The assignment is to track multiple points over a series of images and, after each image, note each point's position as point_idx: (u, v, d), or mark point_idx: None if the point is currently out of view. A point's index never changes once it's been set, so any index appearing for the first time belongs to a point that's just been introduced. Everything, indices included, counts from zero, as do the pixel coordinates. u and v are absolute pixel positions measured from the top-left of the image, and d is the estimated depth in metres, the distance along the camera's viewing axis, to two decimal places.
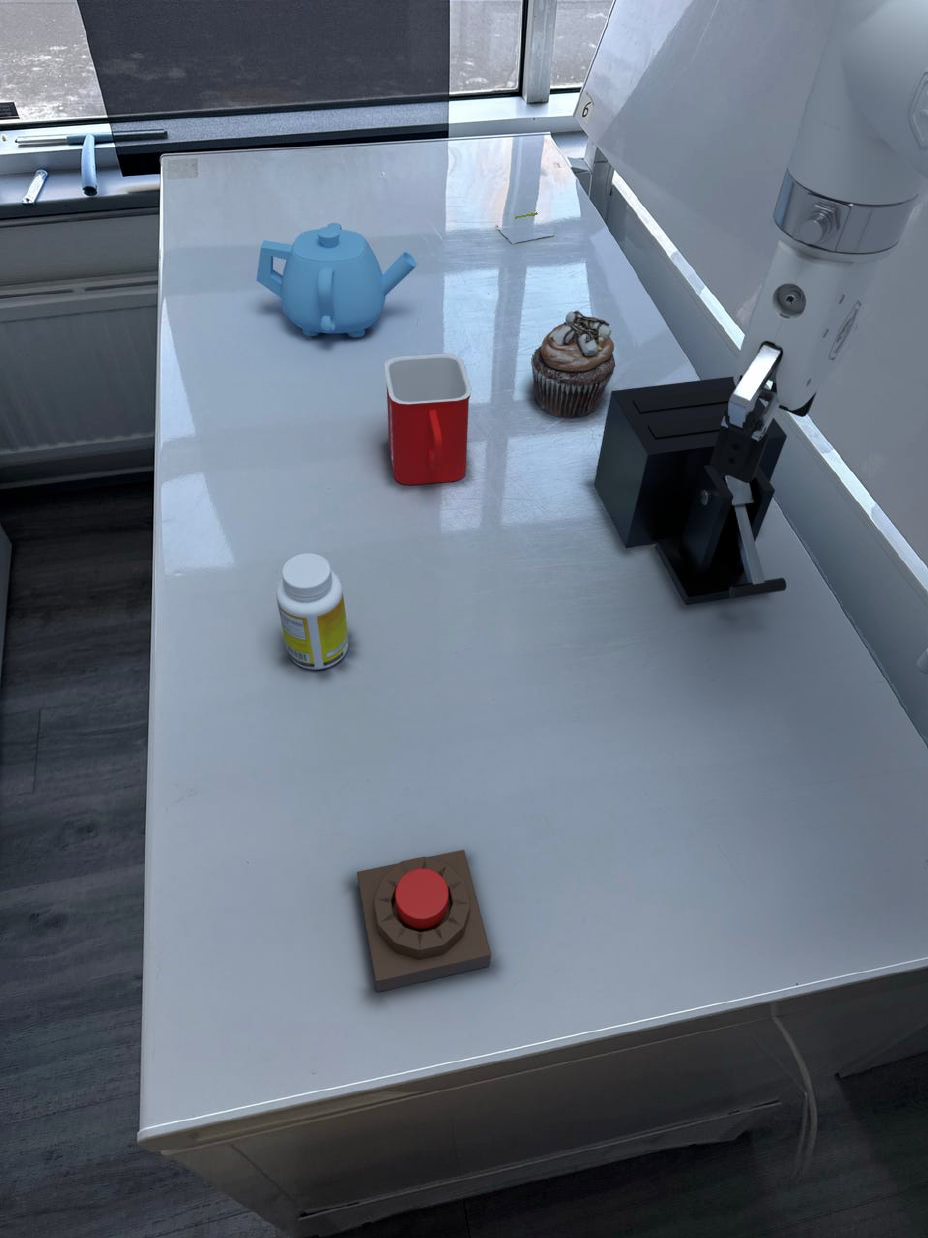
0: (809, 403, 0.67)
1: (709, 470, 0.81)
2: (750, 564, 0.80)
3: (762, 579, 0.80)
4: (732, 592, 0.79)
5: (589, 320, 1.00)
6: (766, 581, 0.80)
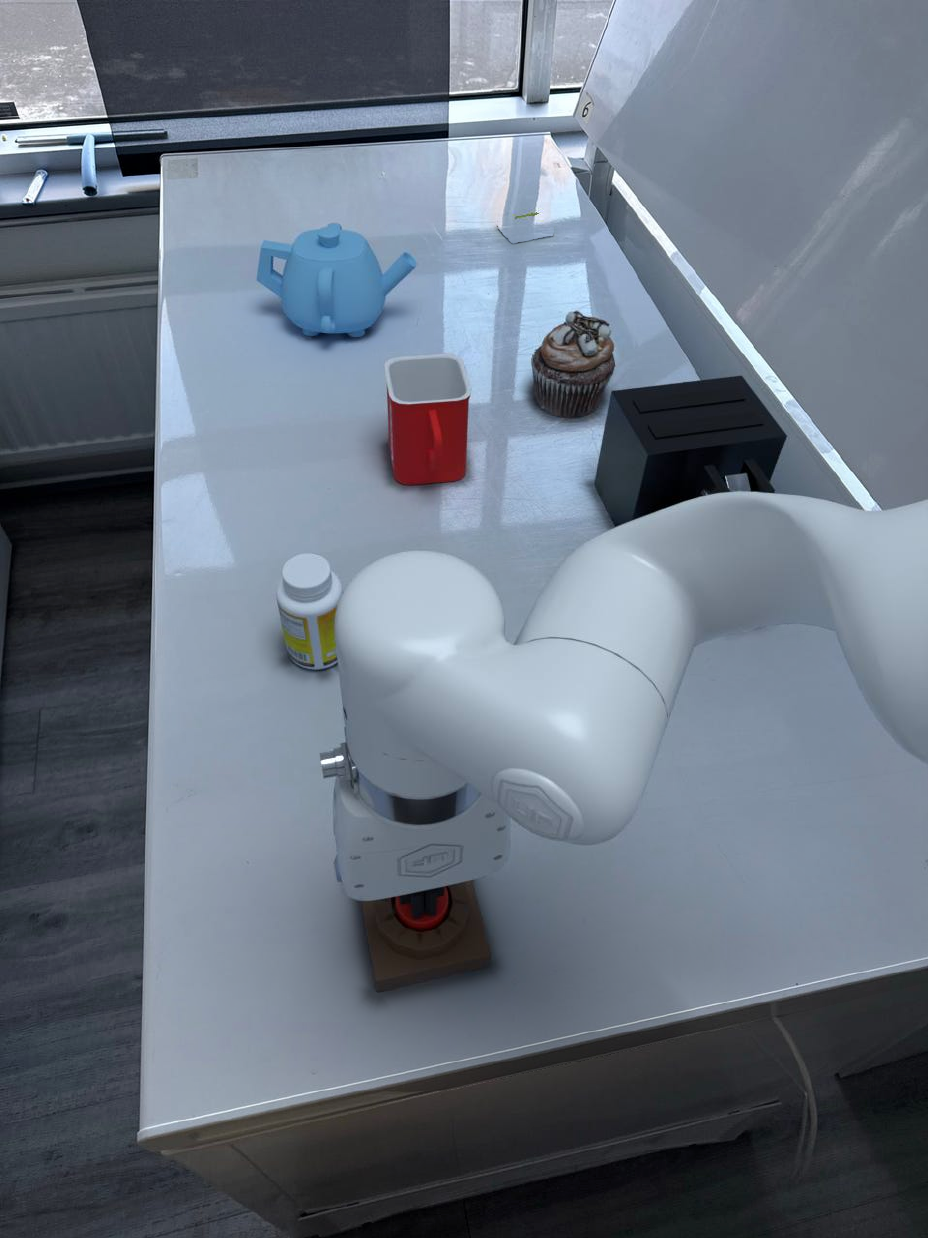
0: (428, 909, 0.59)
1: (709, 470, 0.81)
2: None
3: None
4: None
5: (589, 320, 1.00)
6: None
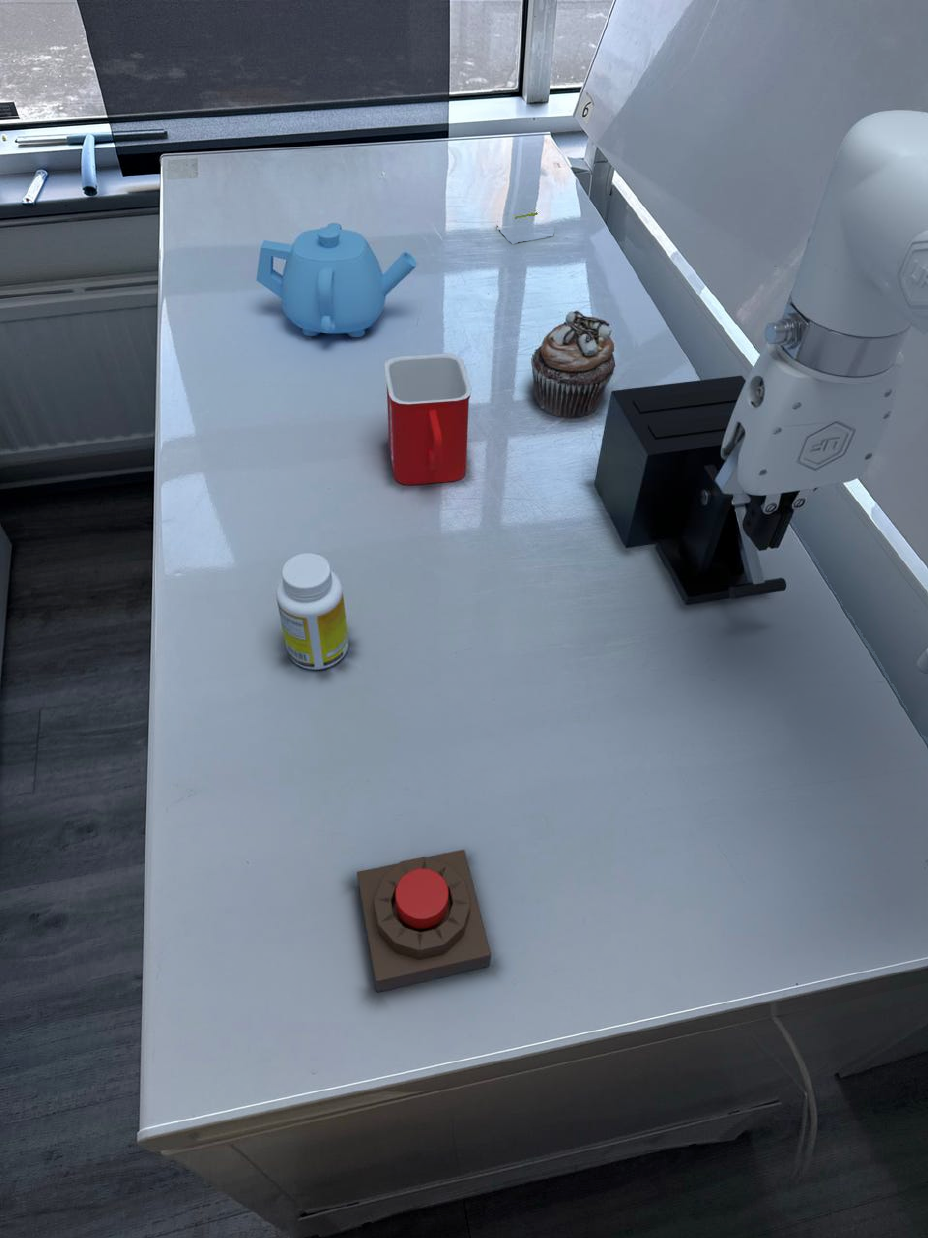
0: (776, 537, 0.69)
1: (709, 470, 0.81)
2: (750, 564, 0.80)
3: (762, 579, 0.80)
4: (732, 592, 0.79)
5: (589, 320, 1.00)
6: (766, 581, 0.80)
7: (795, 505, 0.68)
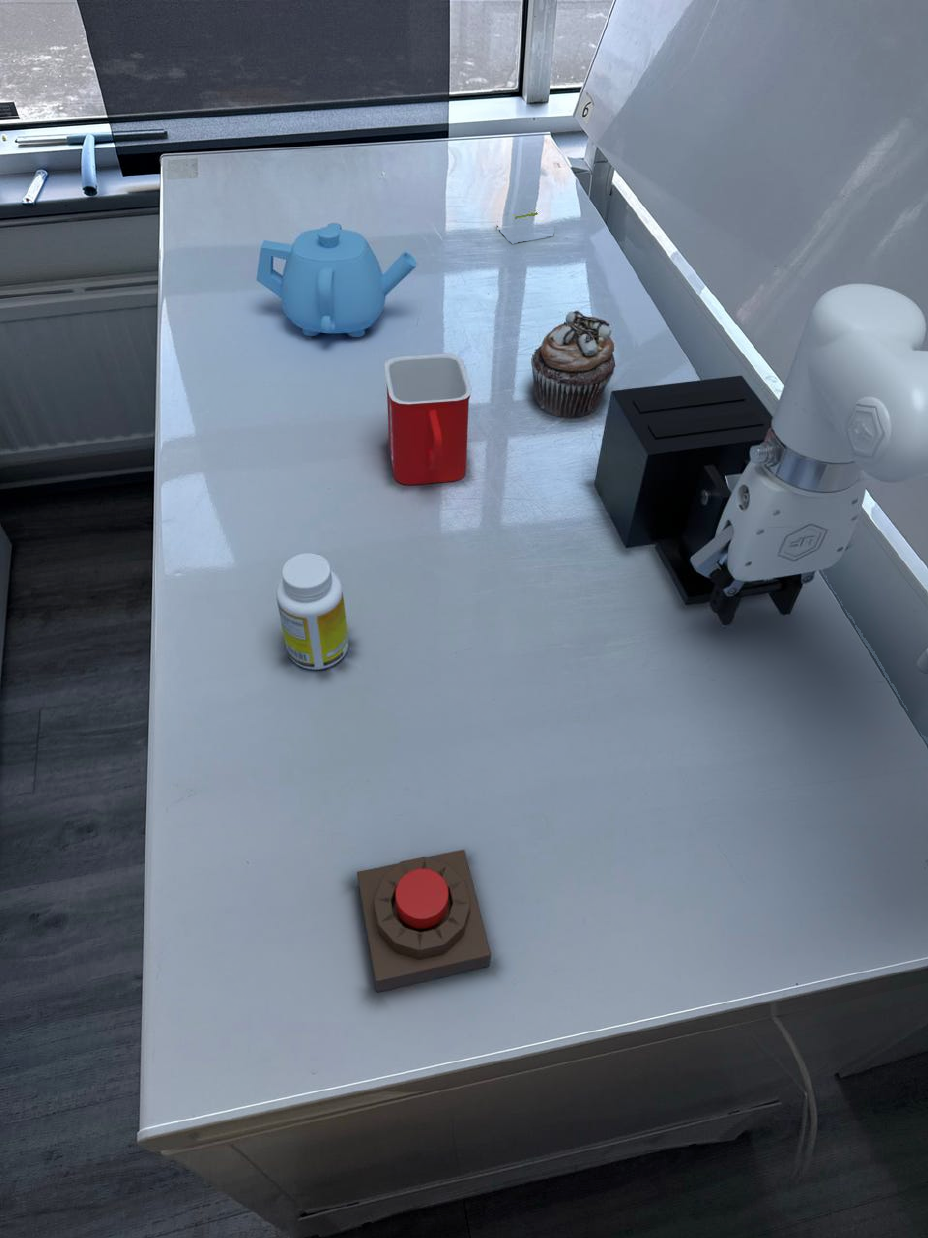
0: (787, 606, 0.81)
1: (709, 470, 0.81)
2: None
3: None
4: None
5: (589, 320, 1.00)
6: (766, 581, 0.80)
7: (805, 580, 0.79)
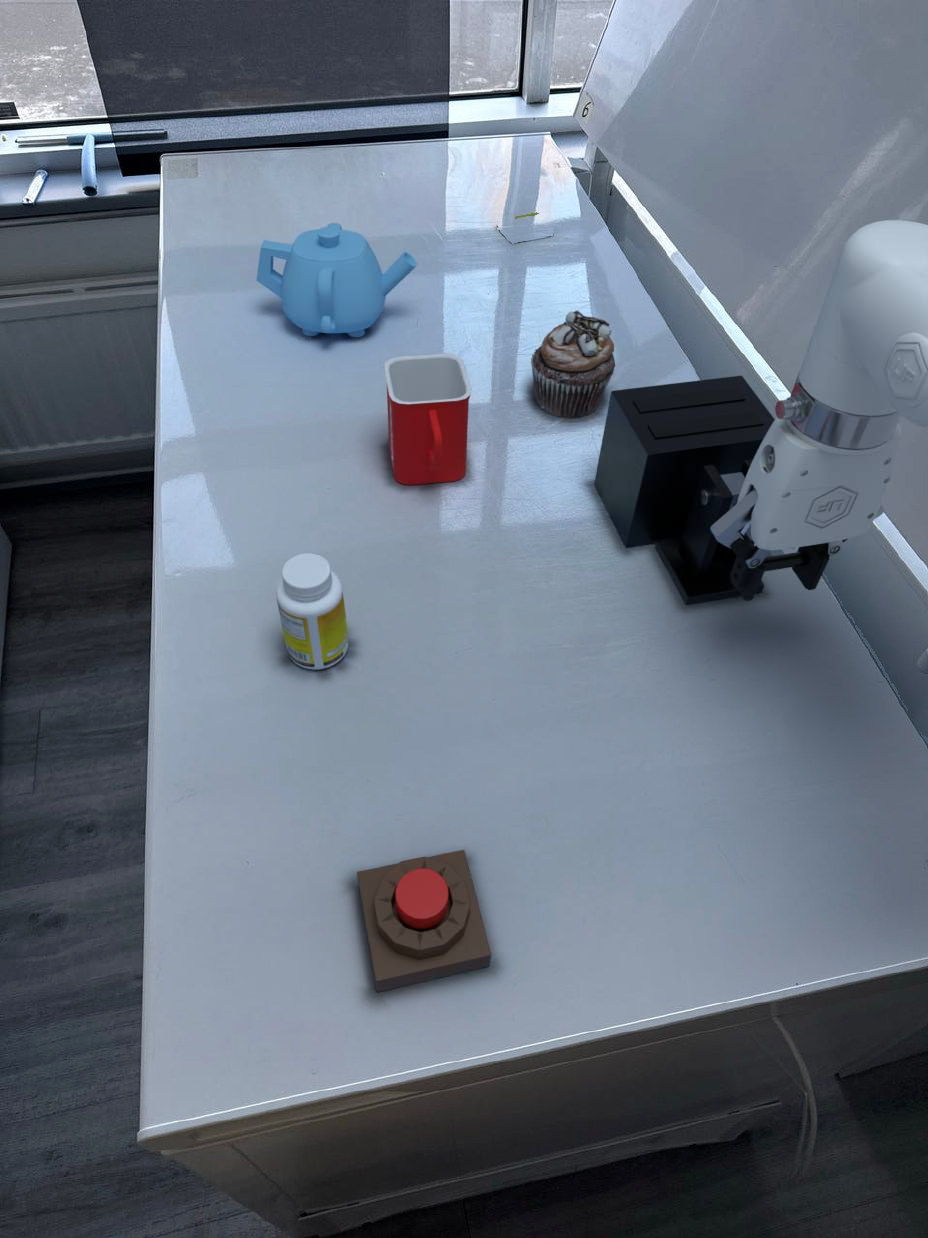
0: (813, 580, 0.76)
1: (709, 470, 0.81)
2: None
3: (781, 552, 0.76)
4: None
5: (589, 320, 1.00)
6: None
7: (832, 551, 0.74)
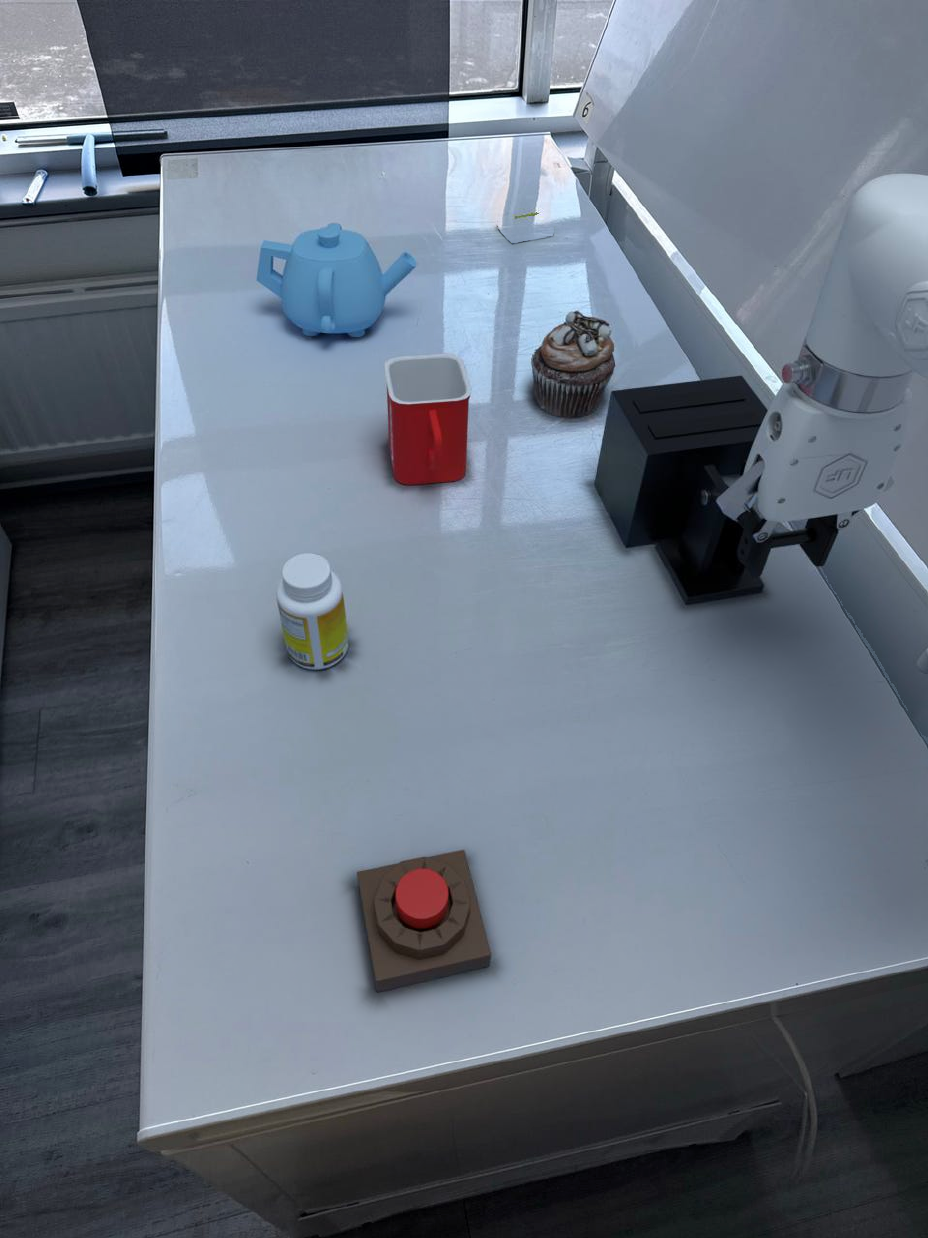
0: (821, 556, 0.74)
1: (709, 470, 0.81)
2: None
3: (786, 529, 0.74)
4: None
5: (589, 320, 1.00)
6: None
7: (841, 525, 0.72)
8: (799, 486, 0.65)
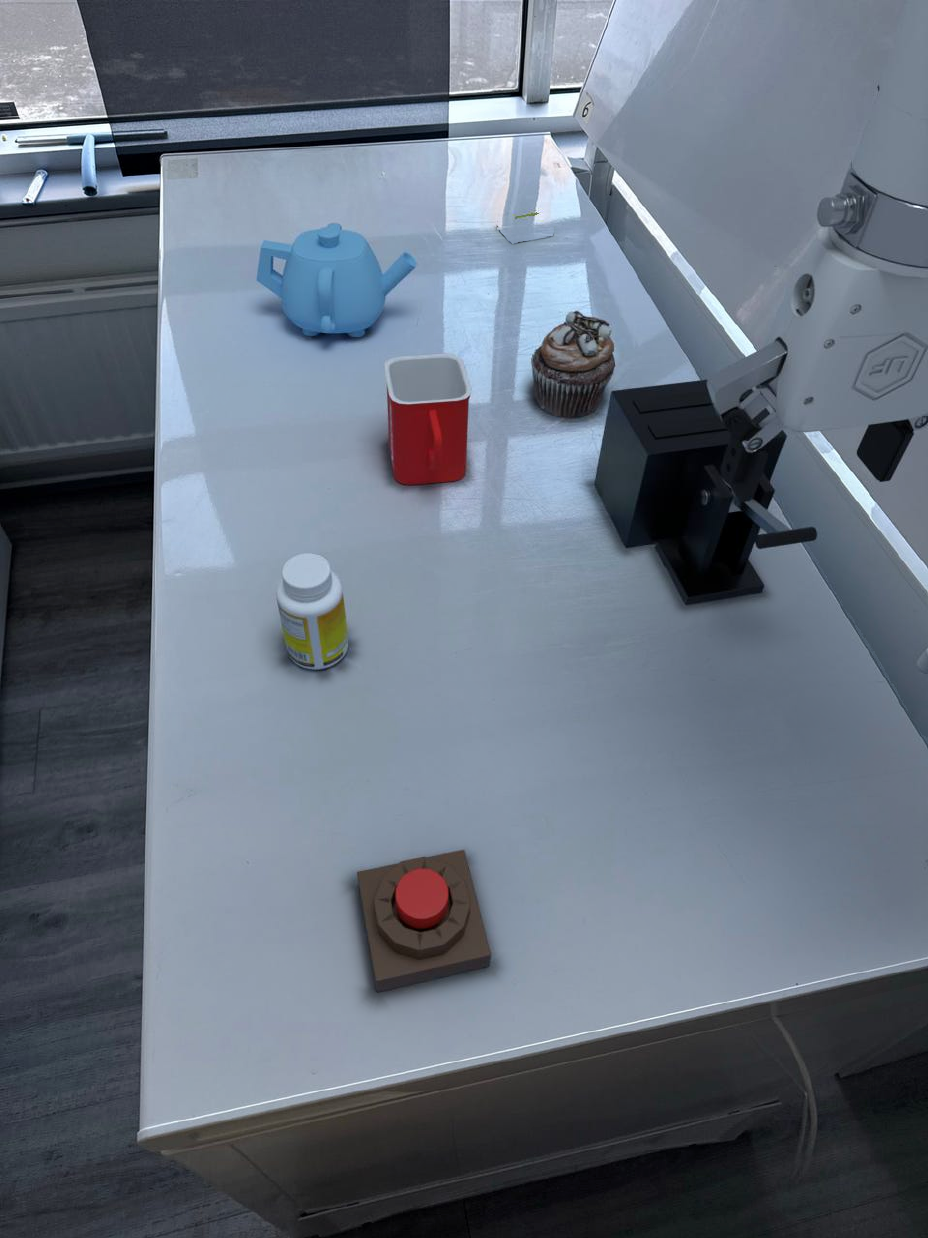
0: (888, 467, 0.57)
1: (709, 470, 0.81)
2: (769, 521, 0.75)
3: (787, 528, 0.74)
4: (758, 540, 0.74)
5: (589, 320, 1.00)
6: (792, 529, 0.74)
7: (920, 424, 0.55)
8: (834, 380, 0.48)
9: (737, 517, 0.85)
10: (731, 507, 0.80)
